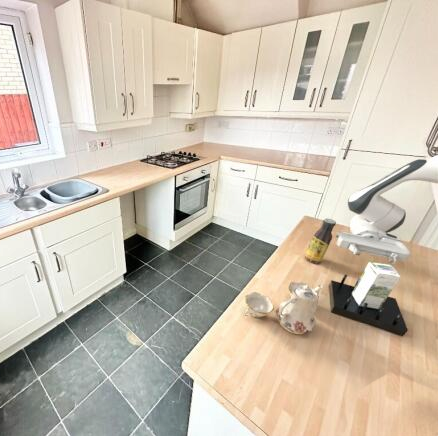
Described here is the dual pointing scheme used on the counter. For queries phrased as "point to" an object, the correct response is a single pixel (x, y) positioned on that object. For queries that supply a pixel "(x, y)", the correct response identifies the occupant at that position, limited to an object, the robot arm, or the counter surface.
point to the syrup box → (375, 285)
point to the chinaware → (288, 308)
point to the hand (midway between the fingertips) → (374, 257)
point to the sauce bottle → (320, 242)
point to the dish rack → (366, 309)
